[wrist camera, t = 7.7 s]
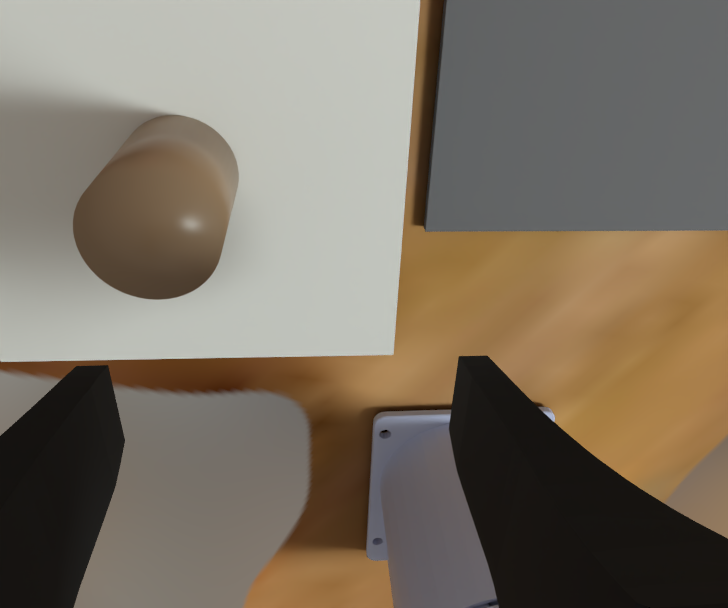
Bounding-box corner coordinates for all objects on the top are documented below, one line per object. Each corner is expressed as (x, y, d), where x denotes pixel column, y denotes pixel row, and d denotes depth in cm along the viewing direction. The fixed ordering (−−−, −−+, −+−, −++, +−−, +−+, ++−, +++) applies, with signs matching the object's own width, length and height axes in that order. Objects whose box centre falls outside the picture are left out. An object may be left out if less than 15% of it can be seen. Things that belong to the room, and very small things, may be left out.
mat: (759, 225, 24) (766, 229, 24) (423, 227, 23) (425, 231, 22) (929, -210, 17) (942, -212, 17) (465, -239, 16) (469, -242, 16)
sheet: (391, 345, 21) (411, 442, 17) (7, 352, 19) (-66, 457, 16) (423, -86, 14) (467, -90, 10) (-138, -112, 13) (-318, -127, 9)
